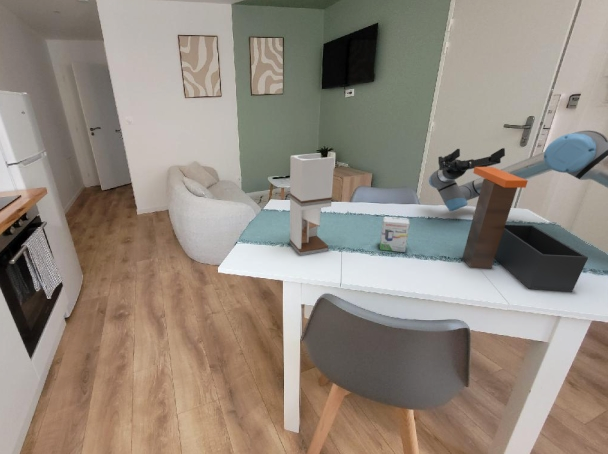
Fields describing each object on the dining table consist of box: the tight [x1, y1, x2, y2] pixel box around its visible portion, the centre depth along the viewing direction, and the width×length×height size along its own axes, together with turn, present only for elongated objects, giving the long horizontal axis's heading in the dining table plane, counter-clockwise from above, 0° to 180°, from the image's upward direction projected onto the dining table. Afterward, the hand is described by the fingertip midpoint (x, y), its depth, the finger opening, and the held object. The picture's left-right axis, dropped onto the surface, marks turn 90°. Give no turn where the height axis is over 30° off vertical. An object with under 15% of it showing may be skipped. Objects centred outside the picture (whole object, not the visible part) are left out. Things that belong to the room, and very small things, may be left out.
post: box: [461, 179, 518, 269], centre depth 91 cm, size 6×6×28 cm
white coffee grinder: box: [289, 152, 335, 256], centre depth 107 cm, size 11×11×35 cm
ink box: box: [379, 216, 411, 253], centre depth 107 cm, size 9×5×12 cm, turn 68°
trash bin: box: [494, 223, 589, 293], centre depth 90 cm, size 22×10×11 cm, turn 167°
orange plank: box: [472, 166, 529, 189], centre depth 87 cm, size 18×5×2 cm, turn 167°
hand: (480, 152), depth 101 cm, fingers open, 13 cm apart
